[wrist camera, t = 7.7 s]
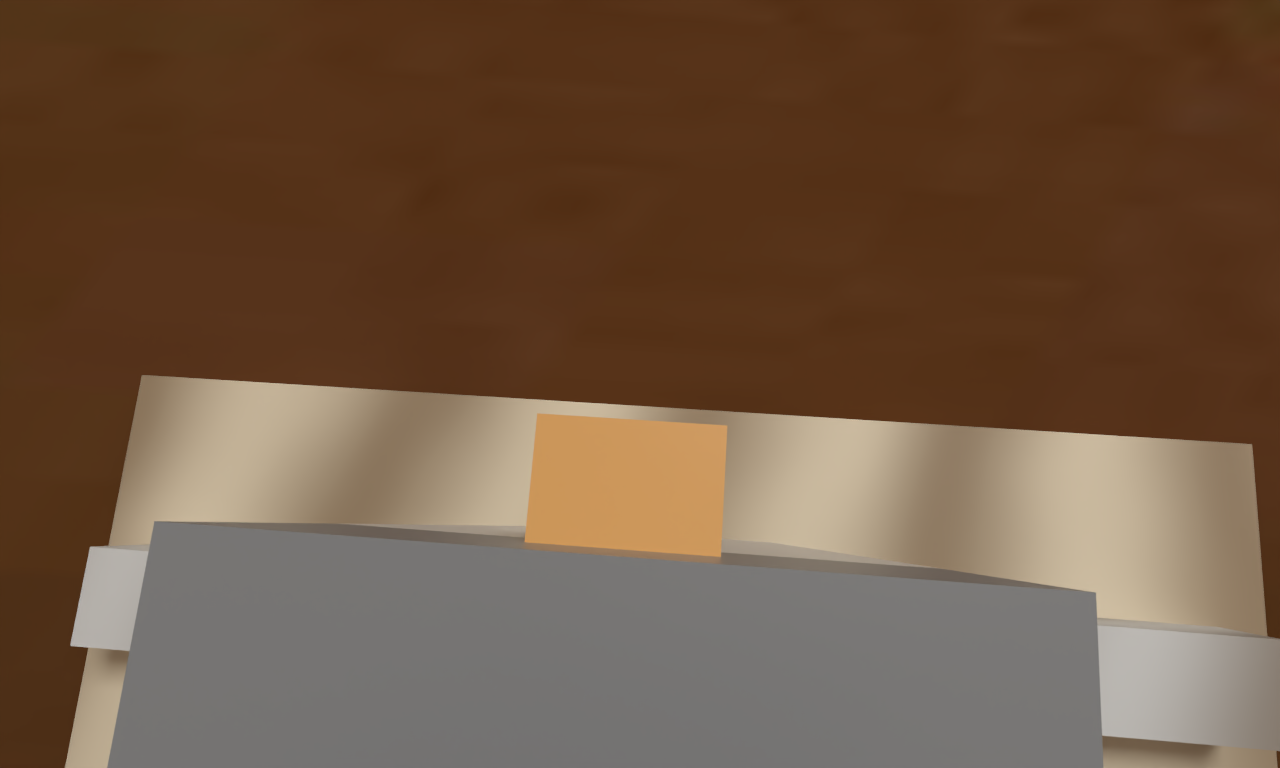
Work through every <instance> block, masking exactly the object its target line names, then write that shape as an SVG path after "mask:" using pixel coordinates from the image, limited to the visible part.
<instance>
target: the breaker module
mask: <svg viewBox="0 0 1280 768" xmlns="http://www.w3.org/2000/svg"><path fill="white" fill-rule="evenodd" d="M726 444H727V425H712V424H696V423H680V422H665V421H649V420H633V419H618V418H602V417H587V416H571V415H555V414H540V413H537V421H536V431H535V441H534V451H533V461H532V472H531V482H530V492H529V502H528V512H527V522H526V526H486V525H408V524H330V523H252V522H173V521H154V526H153V531H152V536H151V541H150V547H149V552H148V557H147V562H146V568H145V573H144V578H143V583H142V588H141V594H140V599H139V604H138V609H137V615H136V620H135V625H134V630H133V635H132V641H131V646H130V651H129V656H128V662H127V667H126V672H125V677H124V682H123V688H122V693H121V698H120V703H119V709H118V714H117V719H116V724H115V729H114V735H113V740H112V745H111V750H110V756H109V761H108V766H107V768H1103V745H1102V721H1101V697H1100V674H1099V650H1098V627H1097V603H1096V592H1089V591H1083V590H1076V589H1070V588H1063V587H1057V586H1050V585H1044V584H1037V583H1031V582H1024V581H1018V580H1012V579H1005V578H999V577H992V576H986V575H979V574H973V573H966V572H960V571H953V570H947V569H940V568H934V567H927V566H921V565H914V564H908V563H902V562H895V561H889V560H882V559H876V558H869V557H863V556H856V555H850V554H843V553H837V552H830V551H824V550H817V549H811V548H804V547H798V546H792V545H785V544H779V543H772V542H760V541H746V540H732V539H722V524H723V504H724V484H725V464H726Z"/></svg>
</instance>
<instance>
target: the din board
mask: <svg viewBox="0 0 1280 768" xmlns="http://www.w3.org/2000/svg"><path fill="white" fill-rule="evenodd" d="M537 413H540V414H555V415H571V416H587V417H602V418H618V419H633V420H649V421H665V422H680V423H696V424H712V425H727V444H726V464H725V484H724V504H723V524H722V539H732V540H746V541H760V542H772V543H779V544H785V545H792V546H798V547H804V548H811V549H817V550H824V551H830V552H837V553H843V554H850V555H856V556H863V557H869V558H876V559H882V560H889V561H895V562H902V563H908V564H914V565H921V566H927V567H934V568H940V569H947V570H953V571H960V572H966V573H973V574H979V575H986V576H992V577H999V578H1005V579H1012V580H1018V581H1024V582H1031V583H1037V584H1044V585H1050V586H1057V587H1063V588H1070V589H1076V590H1083V591H1089V592H1096V603H1097V627H1098V650H1099V674H1100V697H1101V721H1102V745H1103V768H1277V756H1276V751H1280V639H1277V638H1272V637H1267V628H1266V616H1265V603H1264V590H1263V577H1262V565H1261V552H1260V539H1259V526H1258V514H1257V501H1256V488H1255V476H1254V463H1253V450H1252V444H1239V443H1223V442H1207V441H1191V440H1175V439H1158V438H1142V437H1126V436H1110V435H1094V434H1078V433H1062V432H1046V431H1030V430H1014V429H998V428H982V427H966V426H950V425H934V424H918V423H902V422H886V421H870V420H854V419H838V418H822V417H806V416H790V415H774V414H758V413H742V412H726V411H710V410H694V409H678V408H662V407H645V406H629V405H613V404H597V403H581V402H565V401H549V400H533V399H517V398H501V397H485V396H469V395H453V394H437V393H421V392H405V391H389V390H373V389H357V388H341V387H325V386H309V385H293V384H277V383H261V382H245V381H229V380H213V379H197V378H181V377H165V376H149V375H142V378H141V383H140V388H139V393H138V398H137V403H136V408H135V413H134V419H133V424H132V429H131V434H130V439H129V444H128V449H127V454H126V459H125V464H124V470H123V475H122V480H121V485H120V490H119V495H118V500H117V505H116V510H115V516H114V521H113V526H112V531H111V536H110V541H109V546H98V547H90V550H89V555H88V560H87V565H86V570H85V575H84V580H83V585H82V590H81V595H80V600H79V605H78V610H77V615H76V620H75V625H74V630H73V635H72V640H71V645H70V646H78V647H89V648H88V653H87V658H86V664H85V669H84V674H83V679H82V684H81V689H80V694H79V699H78V704H77V709H76V715H75V720H74V725H73V730H72V735H71V740H70V745H69V750H68V755H67V761H66V766H65V768H107V766H108V761H109V756H110V750H111V745H112V740H113V735H114V729H115V724H116V719H117V714H118V709H119V703H120V698H121V693H122V688H123V682H124V677H125V672H126V667H127V662H128V656H129V651H130V646H131V641H132V635H133V630H134V625H135V620H136V615H137V609H138V604H139V599H140V594H141V588H142V583H143V578H144V573H145V568H146V562H147V557H148V552H149V547H150V541H151V536H152V531H153V526H154V521H173V522H252V523H330V524H408V525H486V526H526V522H527V512H528V502H529V492H530V482H531V472H532V461H533V451H534V441H535V431H536V421H537Z"/></svg>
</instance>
